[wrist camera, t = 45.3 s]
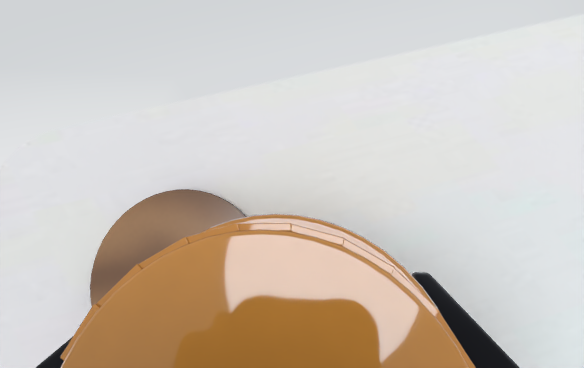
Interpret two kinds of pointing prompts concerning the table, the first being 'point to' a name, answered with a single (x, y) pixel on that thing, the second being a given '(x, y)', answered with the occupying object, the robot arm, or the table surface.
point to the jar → (267, 305)
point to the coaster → (154, 232)
